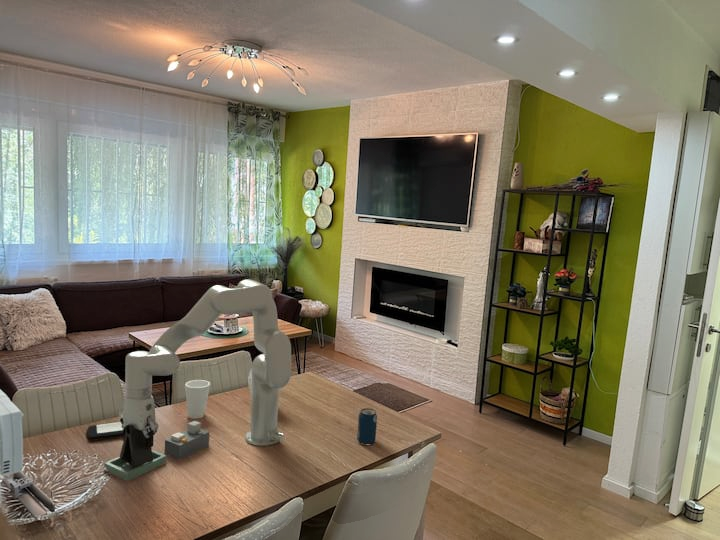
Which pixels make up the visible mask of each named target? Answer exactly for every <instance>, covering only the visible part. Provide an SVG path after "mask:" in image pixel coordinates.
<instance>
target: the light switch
mask: <svg viewBox="0 0 720 540" xmlns="http://www.w3.org/2000/svg"><path fill="white" fill-rule="evenodd" d="M85 433H86V434H85V435H86V437H87V439H88V441H96V440H103V439H105V440H106V439H113V438H120V437H123V429H122V424H121V422H120V421H114V422H105V423H99V424H94V425H90V426H88V427H87V429H86V432H85Z"/></svg>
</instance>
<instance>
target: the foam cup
mask: <svg viewBox="0 0 720 540" xmlns="http://www.w3.org/2000/svg"><path fill="white" fill-rule="evenodd" d="M210 390H211V382H210V381H208V380H204V379H194V380H189V381H187V382H186V383H185V385H184V391H185V397H186V398H185V400H186V409H187V416H188V418H190V419H200V418H203V417H205V415H206V410H207V404H208V399H209V394H210Z"/></svg>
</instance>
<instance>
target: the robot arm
mask: <svg viewBox="0 0 720 540" xmlns="http://www.w3.org/2000/svg"><path fill="white" fill-rule="evenodd" d="M250 312H251V313H252V319H253V343H254V346H255V347H256V349H257V350H258V351H259V352H261V354H259V355H257V356H255V358H254V359H253V361H252V363H251V369H250V371H251V373H252V386H253V390H252V396H251V409H250V410H251V411H250V412H251V413H250V425H249V426H250V429H249V431H247V433H246V434H245V441H246V442H247V443H248V444H251V445H253V446H256V447H257V446H258V447H259V446H260V447H266V446H271V445H274V444H277V443H278V442H280V443H281V442H283V441H284V437H285V434H284V433H282V432H280V427H278V412H279V411H278V410H279V398H280V397H279V395H280V392H279V389H280V390H281V389H283V388H285V387H286V386H287V385H288V384H289V382H290V380H291V376H292V344H291V340H290V338H289V336H288V335H287V334H286V333H284V332H283V331H281V330H280V329H279V322H278V319H279V318H278V310H277V305H276V302H275V299H274V298H273V291H272V290H271V288H270V287H269V286H267V285H266V284H264V283H261V282H258V281H256V280H253V279H251V278H250V279H242V280H241V281H239V282H238V284H237V286H236V288H229V287H227V286H224V285H220V284H216V285H213V286H211V287H210V288H208V290H207V291H206V292H205V293H204V294H203V295H202V297H201V298H200V299H198V301H197V302H196V303H195V304H194V306H193V307H192V308H191V309H190V310H189V312H188V313H186V315H185V316H184V317H183V318H181V319H180V320H179V321H177V322H176V323H174V324H173V325H172V326H170V327H169V328H168V329H167V330H165V331H164V332H163V333H162V334H161V335H160V337H159V338H158V339H157V340H156V341H155V343H154V344H152V345H151V348H150V349H149V351H145V350H136V351H132V352H129V353H127V354H126V355H125V369H124V371H125V372H124V373H125V377H124V379H125V380H124V381H125V383H124V385H125V389H124V390H125V391H124V399H123V408H122V410H121V411H119V412H118V416H119V422H121V424H122V429H123V436H122V441H123V442H124V438H125V434H126V426H127V425H129V424H131V425H133V426H134V428H136V429H139V430H142V431H143V433H144V435H145V437H144V438H143V449H144V450H146V449H149V448H151V449H152V448H153V447H154V436H155V435H156V434H157V432H158V429H159V427H160V426H159V424H158V422H157V421H156V405H155V400H154V396H153V395H152V393H153V391H152V387H153V385H152V384H153V376H161V377H163V376H171V375H174V374H175V373H176V372H177V371H179V369H180V366H181V361H180V360H181V359H180V357H179V356H178V354H176V352H177V351H178V350H179V349H180V348H181V346H183V345H184V343H186V342H187V341H189V340H191V339H194V338H198V337H200V336H203V335H205V334H206V333H207V332H208V331H209V330H210V329H211V328H212V326H213V325H214V323H216V321H217V320H218V319H219V318H220V316H222V315H224V316H226V315H227V316H232V315H233V316H234V315H239V314H244V313H250ZM131 425H130V426H131ZM146 425H148V426H147V427H145V426H146ZM146 429H149V432H147V430H146Z"/></svg>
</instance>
